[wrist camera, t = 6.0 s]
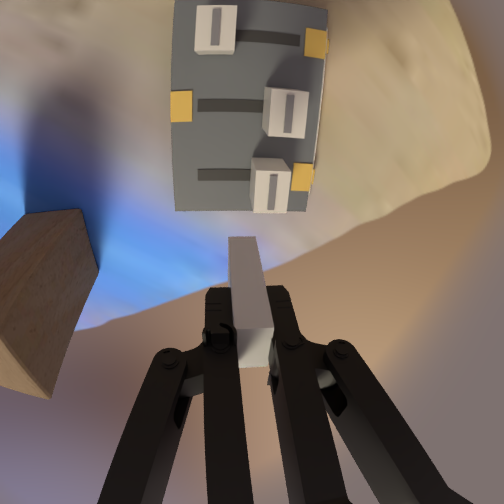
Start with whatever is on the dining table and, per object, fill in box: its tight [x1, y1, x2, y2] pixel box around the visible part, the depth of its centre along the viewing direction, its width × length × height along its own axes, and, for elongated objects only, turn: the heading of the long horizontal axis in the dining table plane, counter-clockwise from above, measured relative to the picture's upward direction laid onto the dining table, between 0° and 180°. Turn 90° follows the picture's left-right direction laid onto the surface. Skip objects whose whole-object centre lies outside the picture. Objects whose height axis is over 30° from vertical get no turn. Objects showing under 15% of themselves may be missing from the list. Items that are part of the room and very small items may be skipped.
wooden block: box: [0, 209, 99, 399], centre depth 24 cm, size 10×10×20 cm
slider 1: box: [194, 5, 237, 55], centre depth 18 cm, size 3×4×4 cm
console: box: [171, 0, 329, 212], centre depth 25 cm, size 14×22×2 cm, turn 177°
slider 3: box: [250, 157, 291, 213], centre depth 26 cm, size 3×4×4 cm
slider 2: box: [262, 87, 309, 139], centre depth 23 cm, size 3×4×4 cm
